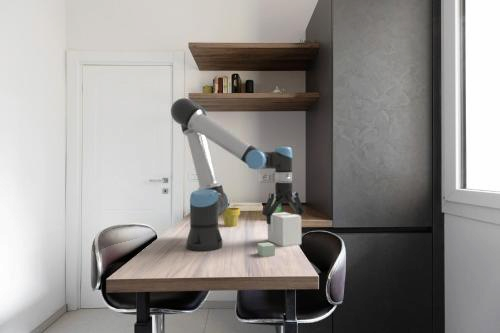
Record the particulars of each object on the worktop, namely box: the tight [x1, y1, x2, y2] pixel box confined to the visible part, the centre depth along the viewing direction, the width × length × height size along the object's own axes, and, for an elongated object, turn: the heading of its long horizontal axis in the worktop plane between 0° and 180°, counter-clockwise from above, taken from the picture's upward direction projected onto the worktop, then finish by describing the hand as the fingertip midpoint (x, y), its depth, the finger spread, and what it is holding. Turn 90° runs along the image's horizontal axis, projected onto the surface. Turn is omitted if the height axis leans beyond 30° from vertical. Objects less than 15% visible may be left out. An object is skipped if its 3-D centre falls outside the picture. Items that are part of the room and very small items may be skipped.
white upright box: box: [267, 211, 302, 247], centre depth 144 cm, size 9×13×12 cm
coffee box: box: [270, 198, 282, 213], centre depth 203 cm, size 8×3×13 cm, turn 101°
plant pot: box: [221, 206, 241, 228], centre depth 184 cm, size 10×10×10 cm
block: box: [257, 241, 276, 258], centre depth 124 cm, size 5×5×4 cm
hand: (283, 230), depth 144 cm, fingers open, 13 cm apart
